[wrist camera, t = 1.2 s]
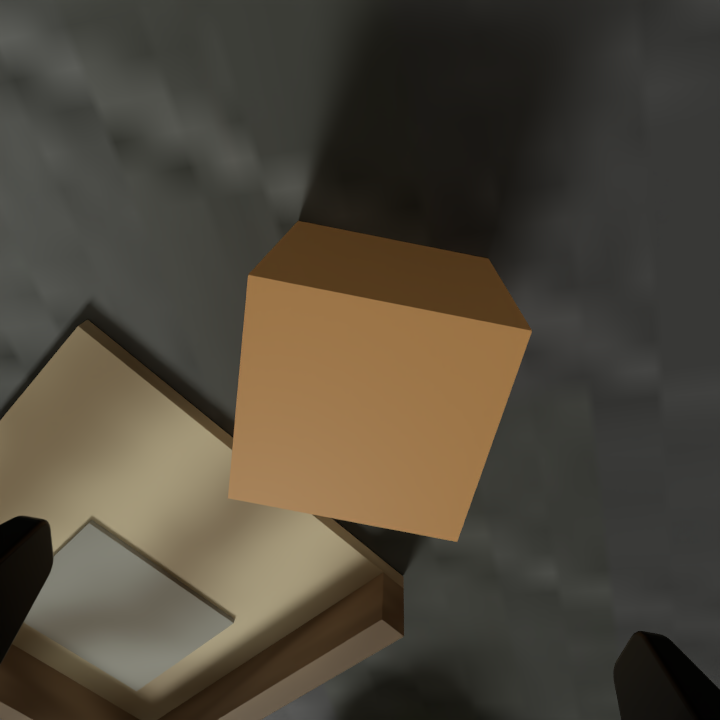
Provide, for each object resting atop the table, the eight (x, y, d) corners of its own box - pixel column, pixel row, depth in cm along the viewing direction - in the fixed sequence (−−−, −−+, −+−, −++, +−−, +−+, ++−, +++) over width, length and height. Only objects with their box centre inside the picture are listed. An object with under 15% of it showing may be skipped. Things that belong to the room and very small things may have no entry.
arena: (-118, 568, 24) (-179, 621, 22) (87, 319, 18) (36, 353, 16) (159, 732, 28) (135, 792, 26) (403, 576, 22) (403, 636, 20)
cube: (277, 387, 19) (227, 498, 13) (298, 220, 16) (248, 274, 11) (440, 418, 19) (457, 541, 14) (488, 257, 16) (531, 331, 11)
